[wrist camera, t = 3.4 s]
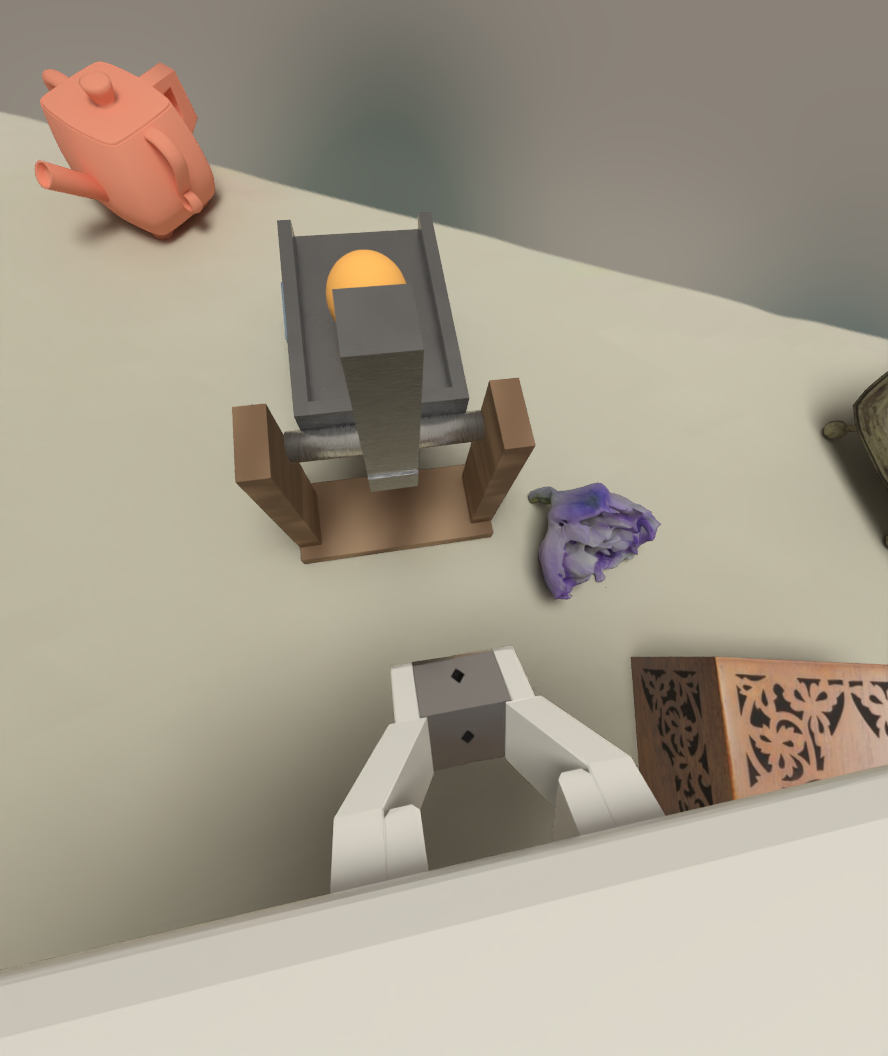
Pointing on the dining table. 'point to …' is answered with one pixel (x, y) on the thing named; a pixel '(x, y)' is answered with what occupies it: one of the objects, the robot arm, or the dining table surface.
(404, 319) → the lever
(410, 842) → the robot arm
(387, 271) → the ball
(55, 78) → the teapot
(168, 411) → the dining table surface
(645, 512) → the flower
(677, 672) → the tissue box cover
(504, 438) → the stand
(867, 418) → the tabletop clock
